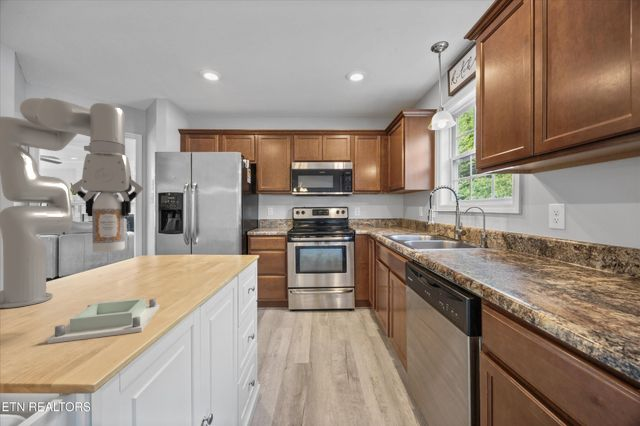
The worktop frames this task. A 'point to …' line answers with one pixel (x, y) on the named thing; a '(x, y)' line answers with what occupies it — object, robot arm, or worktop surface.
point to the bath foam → (108, 223)
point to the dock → (107, 320)
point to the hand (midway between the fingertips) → (108, 215)
